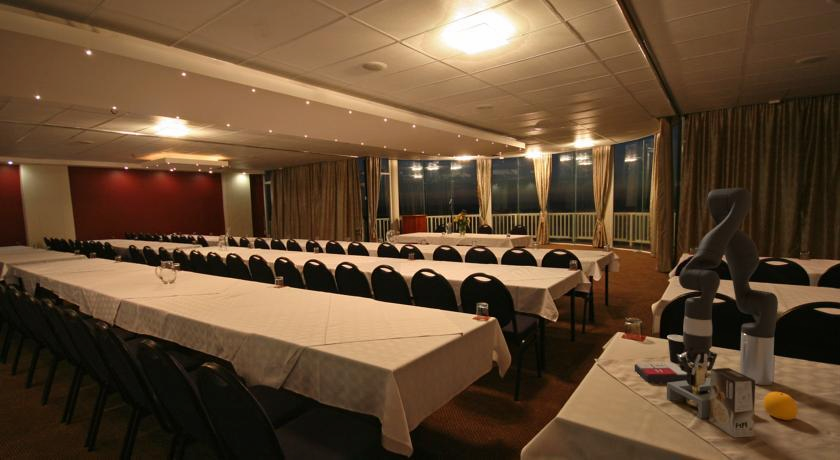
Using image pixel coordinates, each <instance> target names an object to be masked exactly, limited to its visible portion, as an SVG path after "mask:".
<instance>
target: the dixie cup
mask: <svg viewBox="0 0 840 460" xmlns="http://www.w3.org/2000/svg"><path fill="white" fill-rule="evenodd" d="M666 338H667V340H668V342H667V343H668V350H669V351H668V352H669V361H670V363H674V364H676V365H677V366H678V367H680V366H679V363H678V360H677V357H676V355H677V354H680V355H681V354H683V353H684V350H685V345H684V343H683V335H678V334H669V335H667V337H666Z"/></svg>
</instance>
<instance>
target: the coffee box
mask: <svg viewBox="0 0 840 460" xmlns="http://www.w3.org/2000/svg"><path fill="white" fill-rule="evenodd" d="M709 372H710V375H709V378H710V414H709V419H708V421H709V422H710V423H712V424H713V425H715V426H716V427H717V428H719V429H721V430H722V431H724V432H725V433H727V434H728V435H730V436H731V437H733V438H746V437H747V438H749V437H751V438H752V437H754V435H755V434H754V433H755V432H754V431H755V404H756V403H755V401H756V400H755V399H756V395H755V394H756V384H755V380H753V379H751V378H749V377H747V376H745V375H743V374H741V373H740V372H738V371H736V370H734V369H732V368H729V367H723V368H722V367H721V368H712V369H710V371H709Z"/></svg>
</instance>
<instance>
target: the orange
mask: <svg viewBox="0 0 840 460" xmlns="http://www.w3.org/2000/svg"><path fill="white" fill-rule="evenodd" d="M762 403H763V408H764V410H765V412H767V413H768V415H769V416H771V417H774V418H776V419H779V420H783V421H784V420H785V421H791V420H793V419H795V418H796V417H797V415H798V413H799V408H798V404H797V402H796V400H795V399H794V398H792V397H791V396H790V395H789V394H787V393H784V392H780V391H771V392H769V393H767V394H766V395H765V396H764V398H763V402H762Z"/></svg>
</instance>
